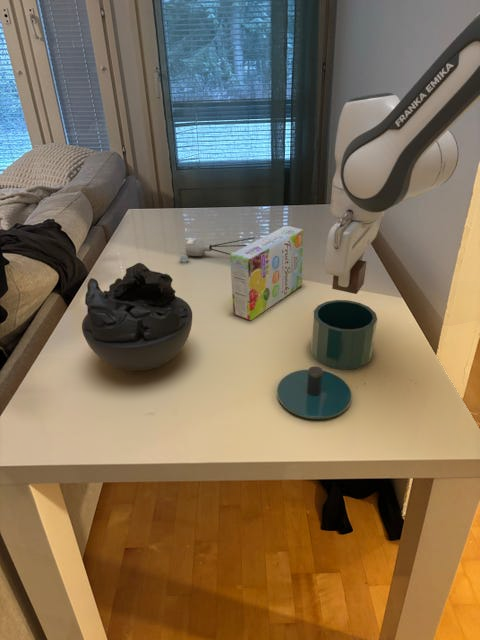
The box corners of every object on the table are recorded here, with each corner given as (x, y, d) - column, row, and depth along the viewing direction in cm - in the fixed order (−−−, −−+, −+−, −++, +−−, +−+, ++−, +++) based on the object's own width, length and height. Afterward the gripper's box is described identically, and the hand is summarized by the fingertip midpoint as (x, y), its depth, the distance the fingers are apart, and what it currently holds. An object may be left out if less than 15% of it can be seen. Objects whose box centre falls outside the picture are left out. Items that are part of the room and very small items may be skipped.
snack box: (283, 280, 119) (285, 224, 112) (302, 286, 116) (305, 228, 109) (231, 314, 105) (228, 252, 98) (251, 322, 102) (250, 258, 95)
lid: (359, 386, 83) (363, 360, 80) (336, 431, 73) (340, 404, 70) (294, 366, 88) (295, 342, 85) (265, 407, 79) (265, 381, 76)
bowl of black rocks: (205, 335, 98) (198, 252, 88) (182, 398, 81) (171, 303, 71) (114, 330, 101) (98, 249, 91) (74, 390, 84) (49, 298, 74)
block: (363, 283, 85) (366, 261, 83) (356, 294, 82) (359, 271, 79) (339, 278, 87) (342, 256, 84) (332, 288, 84) (334, 266, 81)
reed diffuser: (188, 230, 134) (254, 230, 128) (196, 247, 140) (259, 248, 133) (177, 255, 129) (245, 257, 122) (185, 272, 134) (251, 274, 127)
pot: (377, 344, 94) (383, 307, 89) (361, 376, 85) (367, 337, 81) (323, 330, 99) (326, 295, 94) (302, 359, 90) (304, 322, 86)
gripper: (358, 225, 67) (348, 308, 74) (391, 188, 82) (381, 260, 90) (317, 218, 70) (311, 299, 77) (356, 184, 85) (349, 254, 92)
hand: (349, 278), depth 83 cm, fingers closed on block, 4 cm apart
